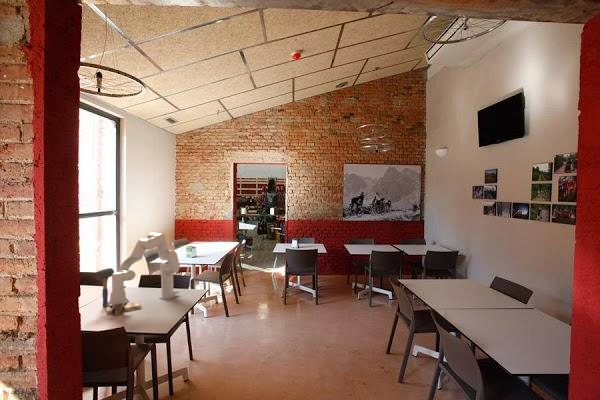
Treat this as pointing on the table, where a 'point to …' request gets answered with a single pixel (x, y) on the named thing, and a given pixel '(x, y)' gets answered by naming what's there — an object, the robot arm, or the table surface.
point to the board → (126, 307)
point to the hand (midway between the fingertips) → (118, 312)
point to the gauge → (118, 309)
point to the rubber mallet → (104, 282)
